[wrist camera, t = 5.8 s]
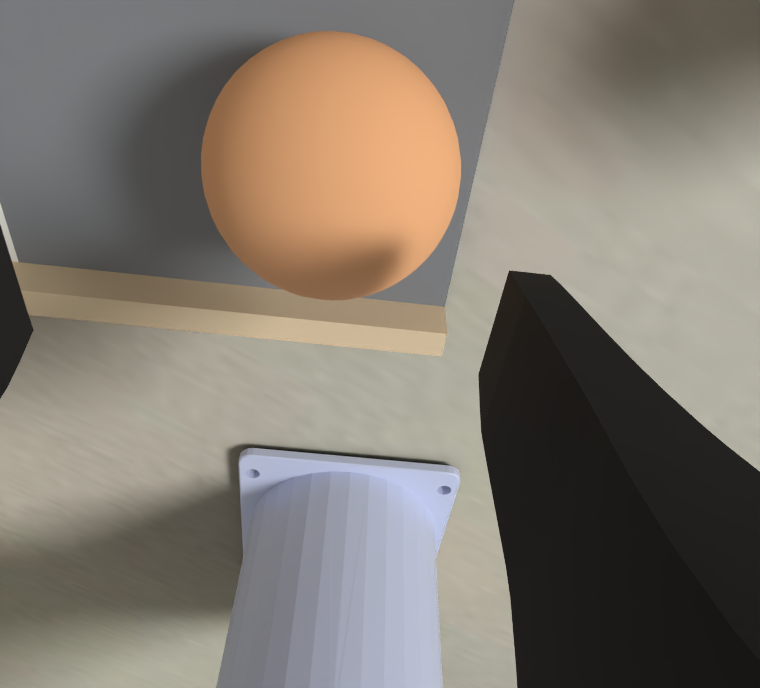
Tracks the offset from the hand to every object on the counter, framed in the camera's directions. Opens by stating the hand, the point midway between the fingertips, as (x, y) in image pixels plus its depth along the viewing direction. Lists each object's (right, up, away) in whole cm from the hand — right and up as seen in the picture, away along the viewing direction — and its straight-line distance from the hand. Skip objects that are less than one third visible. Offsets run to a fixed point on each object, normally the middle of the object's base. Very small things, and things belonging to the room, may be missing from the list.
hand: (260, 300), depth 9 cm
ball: (+1, +3, +3) cm, 4 cm away
